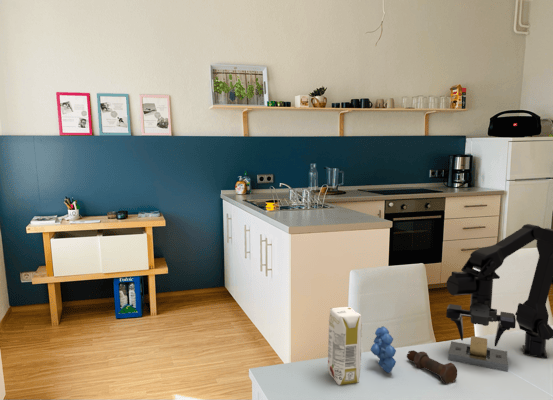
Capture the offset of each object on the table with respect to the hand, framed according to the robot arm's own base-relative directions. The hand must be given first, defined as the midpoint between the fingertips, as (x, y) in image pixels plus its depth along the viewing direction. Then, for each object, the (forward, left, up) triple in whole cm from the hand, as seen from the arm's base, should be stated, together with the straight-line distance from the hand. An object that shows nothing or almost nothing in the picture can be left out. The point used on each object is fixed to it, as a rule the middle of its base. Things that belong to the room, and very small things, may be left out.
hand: (478, 342), depth 136 cm
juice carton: (+30, -33, -5) cm, 45 cm away
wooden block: (0, 0, -5) cm, 5 cm away
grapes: (+20, -25, -5) cm, 32 cm away
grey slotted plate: (0, 0, -5) cm, 5 cm away
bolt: (+15, -12, -6) cm, 20 cm away
